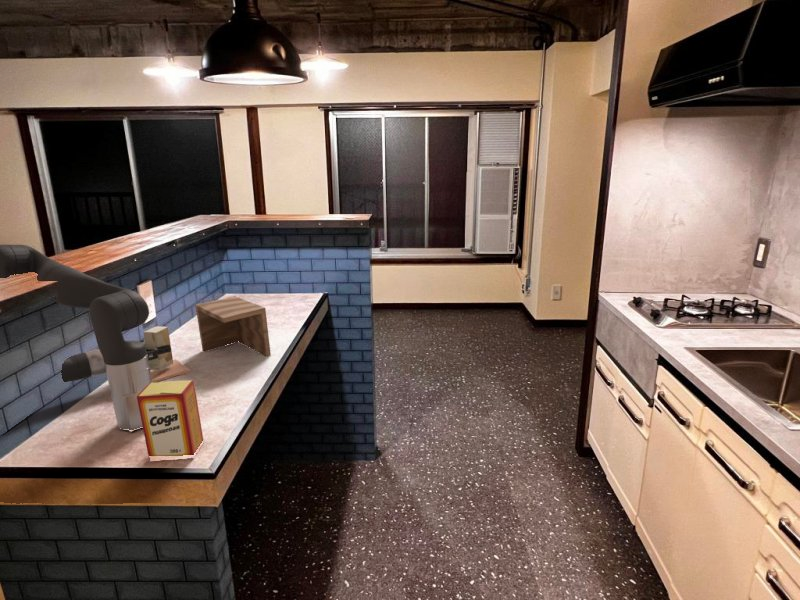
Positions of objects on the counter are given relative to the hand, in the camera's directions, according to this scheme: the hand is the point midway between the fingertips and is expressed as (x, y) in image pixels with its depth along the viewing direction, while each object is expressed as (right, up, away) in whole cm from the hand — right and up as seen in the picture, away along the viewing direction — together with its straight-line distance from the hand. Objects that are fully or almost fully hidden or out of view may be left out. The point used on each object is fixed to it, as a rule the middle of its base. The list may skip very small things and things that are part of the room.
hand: (165, 344), depth 153 cm
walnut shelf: (+17, -4, +14) cm, 22 cm away
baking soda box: (+23, -20, -42) cm, 52 cm away
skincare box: (-1, -7, 0) cm, 7 cm away
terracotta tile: (-1, -9, +1) cm, 9 cm away
